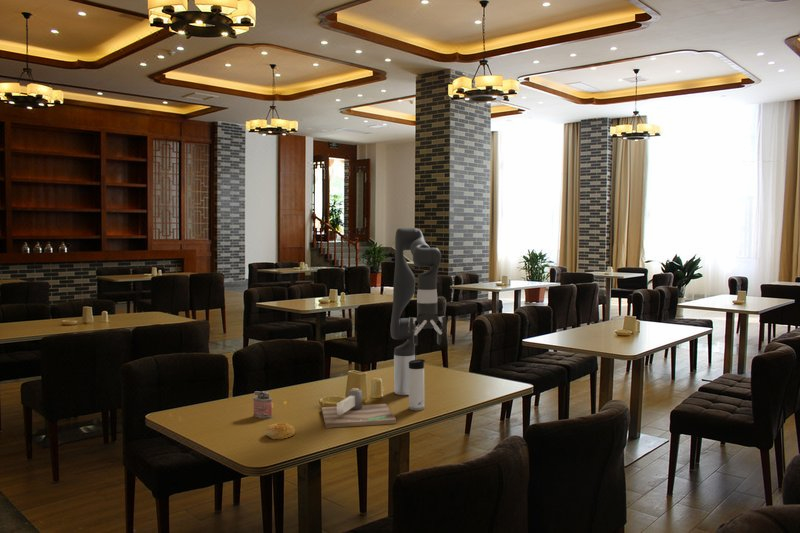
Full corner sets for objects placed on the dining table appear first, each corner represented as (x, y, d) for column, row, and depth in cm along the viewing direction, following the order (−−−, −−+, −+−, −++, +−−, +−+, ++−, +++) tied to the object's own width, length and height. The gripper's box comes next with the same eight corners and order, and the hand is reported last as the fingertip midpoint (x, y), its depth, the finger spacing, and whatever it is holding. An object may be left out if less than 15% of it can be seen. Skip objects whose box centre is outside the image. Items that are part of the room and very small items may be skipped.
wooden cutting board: (321, 411, 261) (321, 407, 261) (385, 407, 266) (385, 403, 266) (326, 427, 239) (325, 423, 239) (396, 423, 244) (396, 419, 243)
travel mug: (423, 411, 260) (423, 361, 259) (407, 410, 261) (407, 360, 260) (426, 406, 266) (426, 358, 265) (410, 406, 268) (410, 357, 267)
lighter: (274, 416, 254) (273, 391, 253) (269, 419, 251) (269, 393, 250) (256, 414, 257) (255, 389, 256) (251, 417, 253) (251, 391, 253)
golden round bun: (302, 434, 232) (301, 421, 231) (277, 442, 223) (276, 428, 223) (284, 429, 238) (284, 416, 238) (259, 437, 230) (259, 423, 230)
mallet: (352, 405, 263) (351, 387, 262) (364, 406, 261) (363, 387, 260) (332, 418, 245) (332, 398, 245) (345, 419, 244) (344, 399, 243)
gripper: (443, 299, 248) (443, 342, 249) (406, 300, 245) (406, 343, 246) (448, 301, 241) (448, 345, 241) (410, 302, 238) (410, 347, 239)
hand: (427, 344), depth 244 cm, fingers open, 8 cm apart
